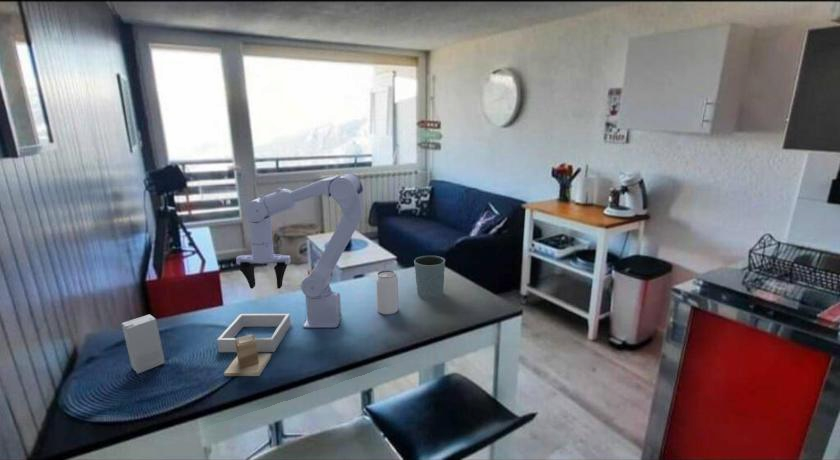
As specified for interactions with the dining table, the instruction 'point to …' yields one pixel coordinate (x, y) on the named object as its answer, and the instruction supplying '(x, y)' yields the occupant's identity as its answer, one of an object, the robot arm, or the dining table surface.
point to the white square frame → (246, 320)
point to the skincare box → (143, 343)
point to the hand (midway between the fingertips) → (266, 287)
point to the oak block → (246, 351)
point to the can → (387, 292)
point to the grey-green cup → (429, 276)
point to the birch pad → (248, 371)
